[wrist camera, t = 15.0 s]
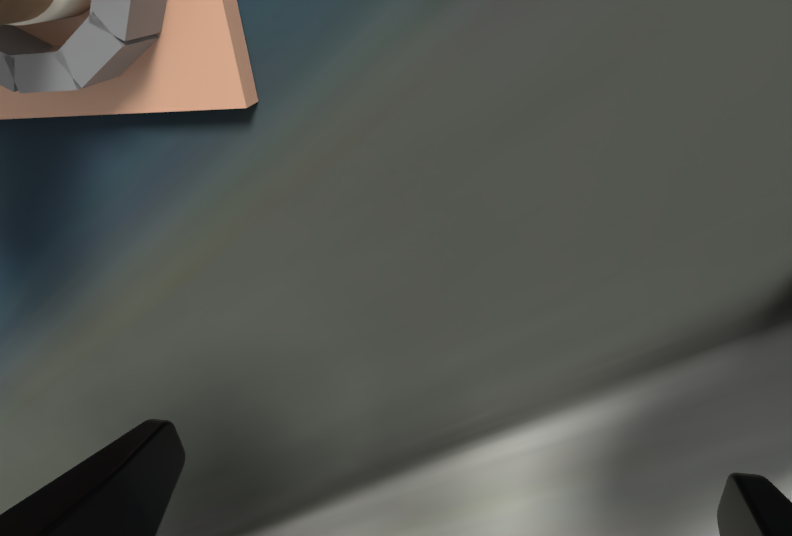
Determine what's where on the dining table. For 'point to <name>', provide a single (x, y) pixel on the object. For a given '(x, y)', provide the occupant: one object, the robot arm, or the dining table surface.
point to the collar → (127, 60)
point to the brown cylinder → (40, 10)
